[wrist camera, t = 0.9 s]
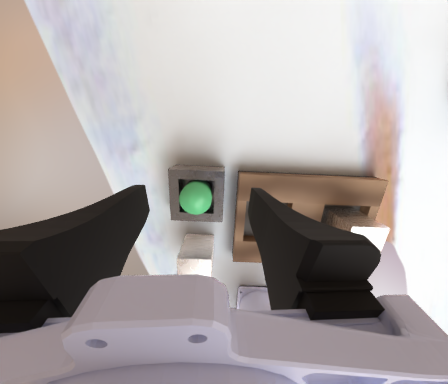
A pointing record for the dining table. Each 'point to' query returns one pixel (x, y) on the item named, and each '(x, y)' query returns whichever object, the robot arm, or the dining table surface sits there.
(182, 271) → the block
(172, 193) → the button box
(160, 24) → the dining table surface
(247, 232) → the wooden socket board
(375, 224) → the block
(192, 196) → the button
